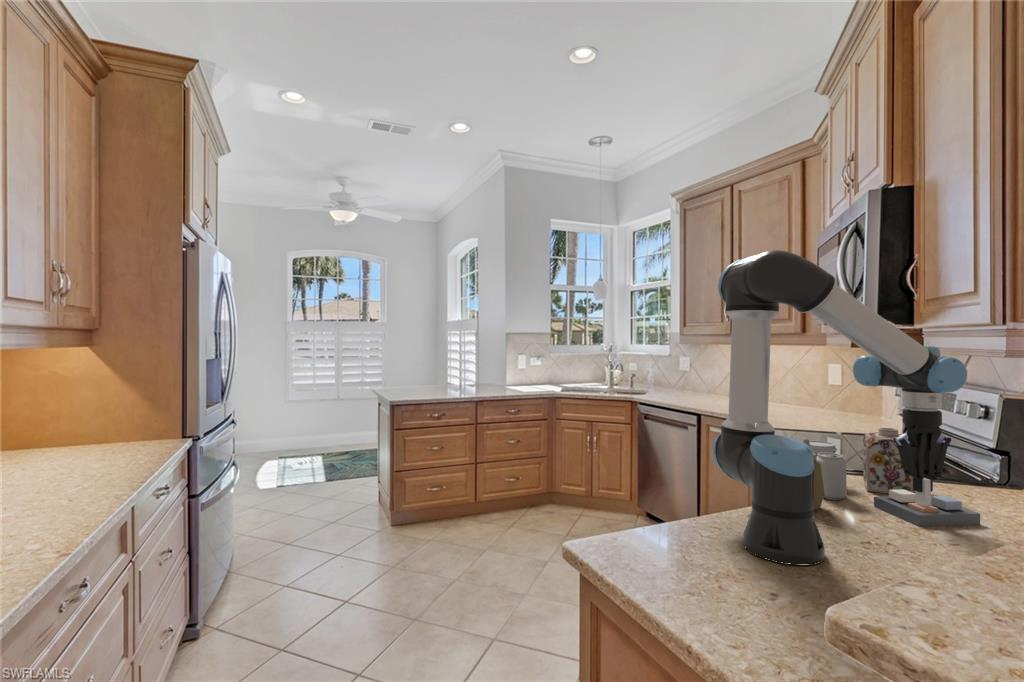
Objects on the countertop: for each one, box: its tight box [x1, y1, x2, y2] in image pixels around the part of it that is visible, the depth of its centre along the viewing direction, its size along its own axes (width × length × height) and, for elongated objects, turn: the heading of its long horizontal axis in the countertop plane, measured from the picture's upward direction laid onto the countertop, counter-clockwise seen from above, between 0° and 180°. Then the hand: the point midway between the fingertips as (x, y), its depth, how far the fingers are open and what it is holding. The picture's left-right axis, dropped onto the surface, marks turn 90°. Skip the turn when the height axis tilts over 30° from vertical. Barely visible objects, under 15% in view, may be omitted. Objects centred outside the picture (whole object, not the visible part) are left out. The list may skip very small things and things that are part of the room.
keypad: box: [873, 495, 981, 527], centre depth 124 cm, size 15×14×3 cm
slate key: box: [931, 495, 963, 512], centre depth 122 cm, size 4×4×3 cm
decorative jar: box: [862, 427, 915, 495], centre depth 146 cm, size 12×12×18 cm
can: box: [816, 452, 848, 501], centre depth 140 cm, size 8×8×12 cm
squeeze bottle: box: [802, 438, 825, 511], centre depth 132 cm, size 8×8×18 cm
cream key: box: [888, 489, 916, 504], centre depth 127 cm, size 4×4×3 cm
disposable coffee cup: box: [809, 440, 838, 456], centre depth 154 cm, size 10×10×12 cm
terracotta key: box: [908, 503, 938, 513], centre depth 121 cm, size 4×4×3 cm
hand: (923, 504), depth 121 cm, fingers closed
